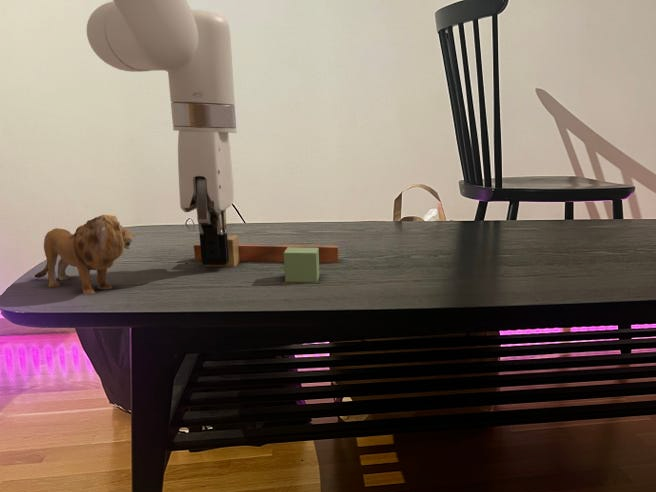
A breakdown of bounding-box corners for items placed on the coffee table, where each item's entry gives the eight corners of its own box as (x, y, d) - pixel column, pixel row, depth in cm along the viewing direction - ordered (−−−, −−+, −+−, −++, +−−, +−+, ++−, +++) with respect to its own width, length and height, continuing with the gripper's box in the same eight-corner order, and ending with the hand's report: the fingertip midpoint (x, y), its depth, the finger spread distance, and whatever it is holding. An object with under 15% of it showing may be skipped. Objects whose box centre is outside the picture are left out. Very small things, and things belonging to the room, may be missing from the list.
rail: (195, 262, 99) (193, 245, 99) (197, 260, 101) (195, 243, 100) (338, 264, 102) (337, 247, 102) (338, 262, 104) (338, 245, 103)
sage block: (285, 283, 89) (283, 252, 88) (288, 277, 93) (287, 247, 92) (317, 284, 90) (316, 252, 88) (319, 277, 93) (318, 247, 92)
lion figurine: (147, 291, 82) (138, 214, 80) (110, 300, 78) (99, 218, 75) (54, 277, 87) (43, 204, 84) (14, 285, 82) (0, 208, 79)
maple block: (204, 268, 96) (201, 239, 95) (210, 262, 100) (208, 234, 99) (234, 268, 97) (232, 239, 95) (240, 263, 100) (237, 235, 99)
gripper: (188, 118, 95) (199, 253, 101) (155, 117, 81) (171, 274, 86) (245, 121, 96) (253, 254, 102) (223, 120, 82) (234, 275, 88)
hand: (215, 263), depth 94 cm, fingers closed
